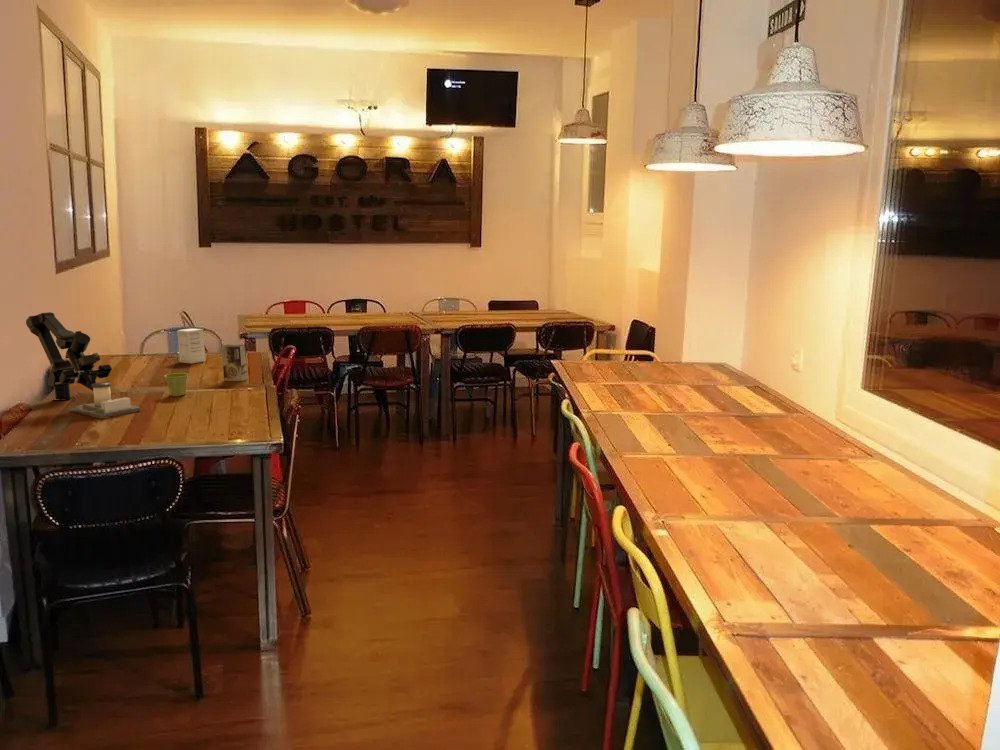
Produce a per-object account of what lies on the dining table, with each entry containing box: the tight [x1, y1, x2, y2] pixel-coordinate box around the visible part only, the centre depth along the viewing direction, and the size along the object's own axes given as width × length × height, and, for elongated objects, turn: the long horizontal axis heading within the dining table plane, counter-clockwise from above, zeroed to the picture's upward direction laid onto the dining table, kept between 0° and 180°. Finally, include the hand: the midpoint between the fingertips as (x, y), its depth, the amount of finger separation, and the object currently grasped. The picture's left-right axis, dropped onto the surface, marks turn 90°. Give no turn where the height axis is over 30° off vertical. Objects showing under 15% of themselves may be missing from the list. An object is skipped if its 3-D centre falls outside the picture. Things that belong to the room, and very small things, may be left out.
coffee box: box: [220, 344, 248, 382], centre depth 377 cm, size 9×6×16 cm
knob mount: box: [70, 397, 141, 420], centre depth 318 cm, size 22×16×6 cm
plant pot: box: [164, 372, 189, 397], centre depth 346 cm, size 9×9×9 cm
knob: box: [91, 381, 112, 408], centre depth 318 cm, size 7×7×9 cm
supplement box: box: [176, 327, 207, 364], centre depth 424 cm, size 10×9×17 cm
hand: (95, 390), depth 321 cm, fingers closed
